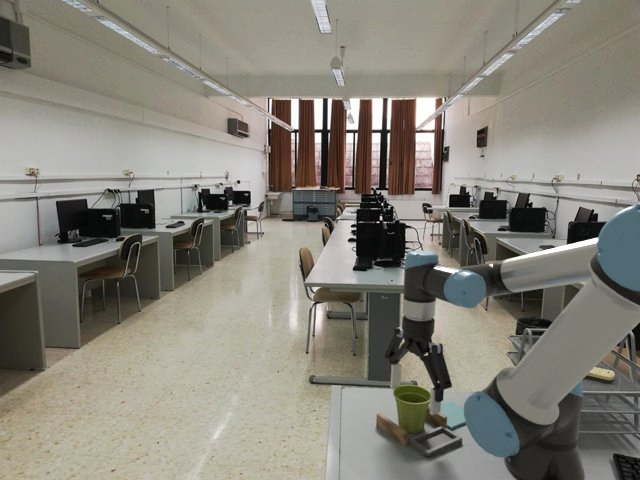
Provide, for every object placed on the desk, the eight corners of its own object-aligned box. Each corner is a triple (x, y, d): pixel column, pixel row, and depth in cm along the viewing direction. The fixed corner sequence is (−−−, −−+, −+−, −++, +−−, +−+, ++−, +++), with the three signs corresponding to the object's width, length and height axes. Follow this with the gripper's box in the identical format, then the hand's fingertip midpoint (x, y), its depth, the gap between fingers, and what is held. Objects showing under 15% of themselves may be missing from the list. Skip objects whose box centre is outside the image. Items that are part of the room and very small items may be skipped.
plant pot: (435, 438, 101) (436, 403, 100) (395, 437, 102) (396, 403, 101) (426, 416, 111) (427, 385, 110) (389, 416, 111) (390, 384, 110)
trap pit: (462, 442, 100) (462, 437, 100) (428, 458, 94) (428, 453, 94) (442, 430, 105) (442, 425, 105) (408, 443, 99) (409, 439, 99)
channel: (446, 428, 106) (447, 416, 105) (404, 445, 98) (404, 433, 98) (417, 409, 114) (417, 399, 114) (376, 425, 107) (376, 413, 106)
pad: (478, 418, 110) (478, 416, 110) (451, 429, 105) (451, 427, 105) (447, 401, 119) (447, 399, 119) (421, 411, 113) (421, 409, 113)
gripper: (472, 329, 93) (465, 420, 96) (395, 300, 114) (391, 375, 117) (448, 335, 89) (442, 430, 92) (373, 304, 110) (370, 382, 113)
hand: (414, 399), depth 105 cm, fingers open, 13 cm apart
